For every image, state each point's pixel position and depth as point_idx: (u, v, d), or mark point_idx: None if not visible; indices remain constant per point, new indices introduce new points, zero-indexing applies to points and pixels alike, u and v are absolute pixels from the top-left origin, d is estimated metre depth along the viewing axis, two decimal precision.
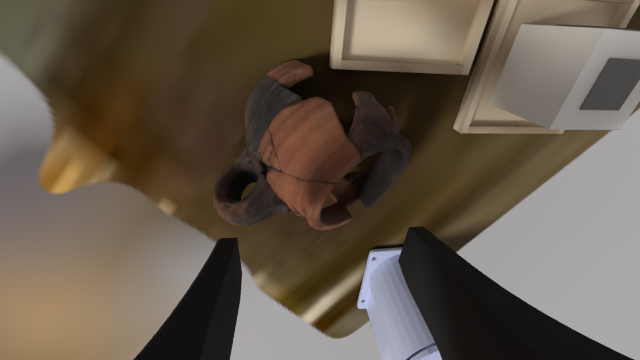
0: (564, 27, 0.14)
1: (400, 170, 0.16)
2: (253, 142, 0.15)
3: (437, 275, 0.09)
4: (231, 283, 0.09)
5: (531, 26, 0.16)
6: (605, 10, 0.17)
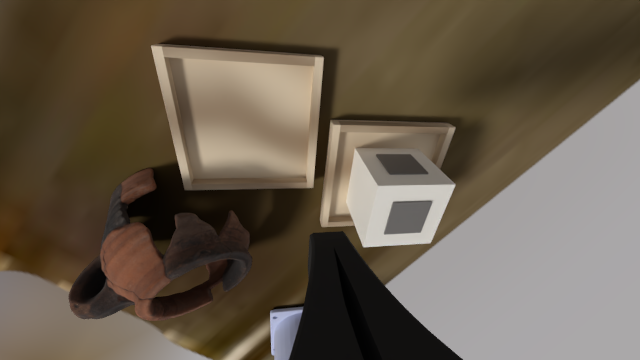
0: (367, 168, 0.17)
1: (244, 264, 0.18)
2: None
3: (342, 284, 0.09)
4: None
5: (357, 154, 0.19)
6: (429, 135, 0.20)
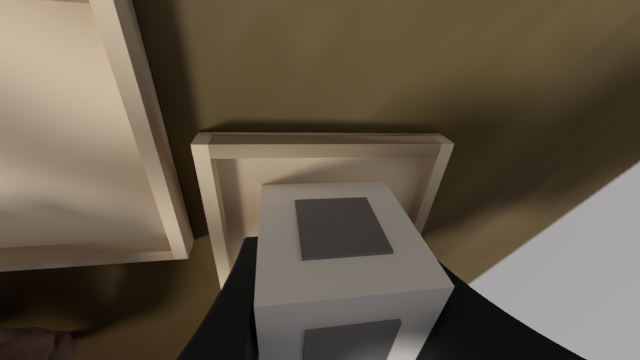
0: None
1: None
2: None
3: None
4: None
5: (260, 199, 0.09)
6: (405, 157, 0.10)
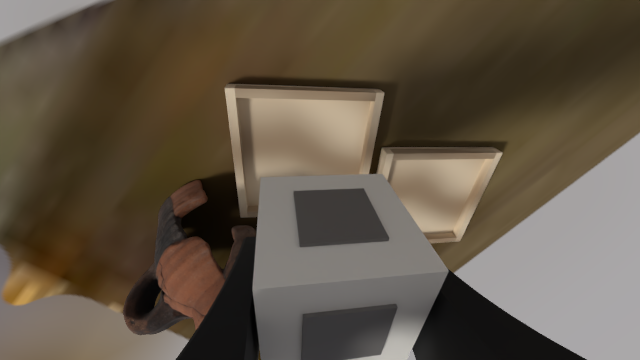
0: None
1: None
2: None
3: None
4: None
5: (260, 191, 0.10)
6: (475, 159, 0.20)
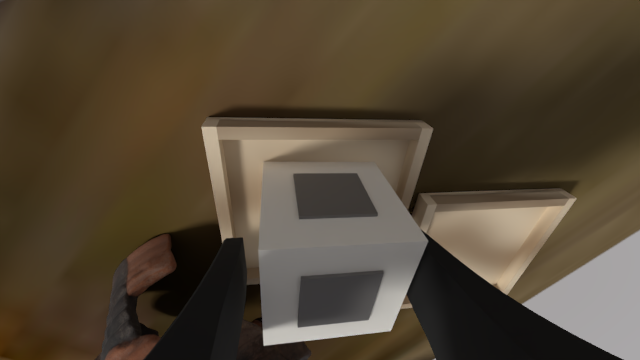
0: None
1: None
2: None
3: (431, 275, 0.09)
4: (238, 282, 0.09)
5: None
6: None
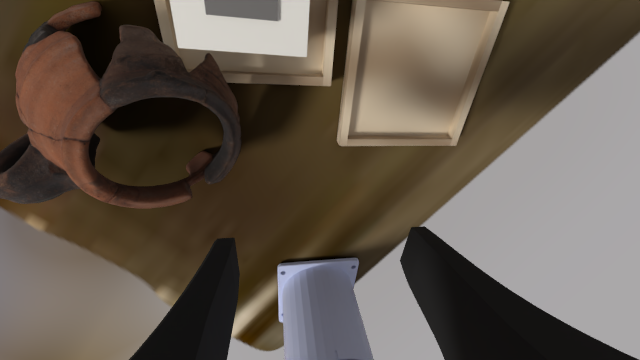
0: None
1: (229, 133, 0.13)
2: None
3: (439, 275, 0.09)
4: (228, 283, 0.09)
5: None
6: (475, 17, 0.16)
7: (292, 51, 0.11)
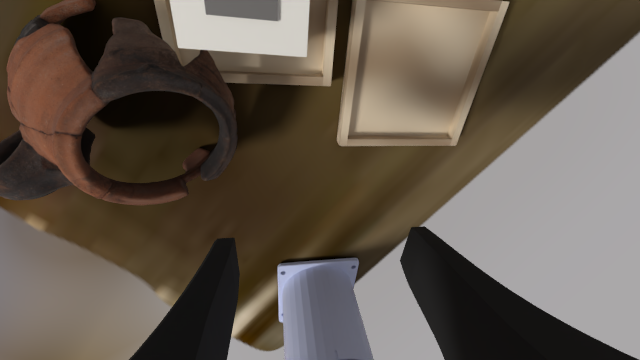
0: None
1: (225, 128, 0.13)
2: None
3: (440, 275, 0.09)
4: (228, 283, 0.09)
5: None
6: (474, 17, 0.16)
7: (292, 51, 0.11)
